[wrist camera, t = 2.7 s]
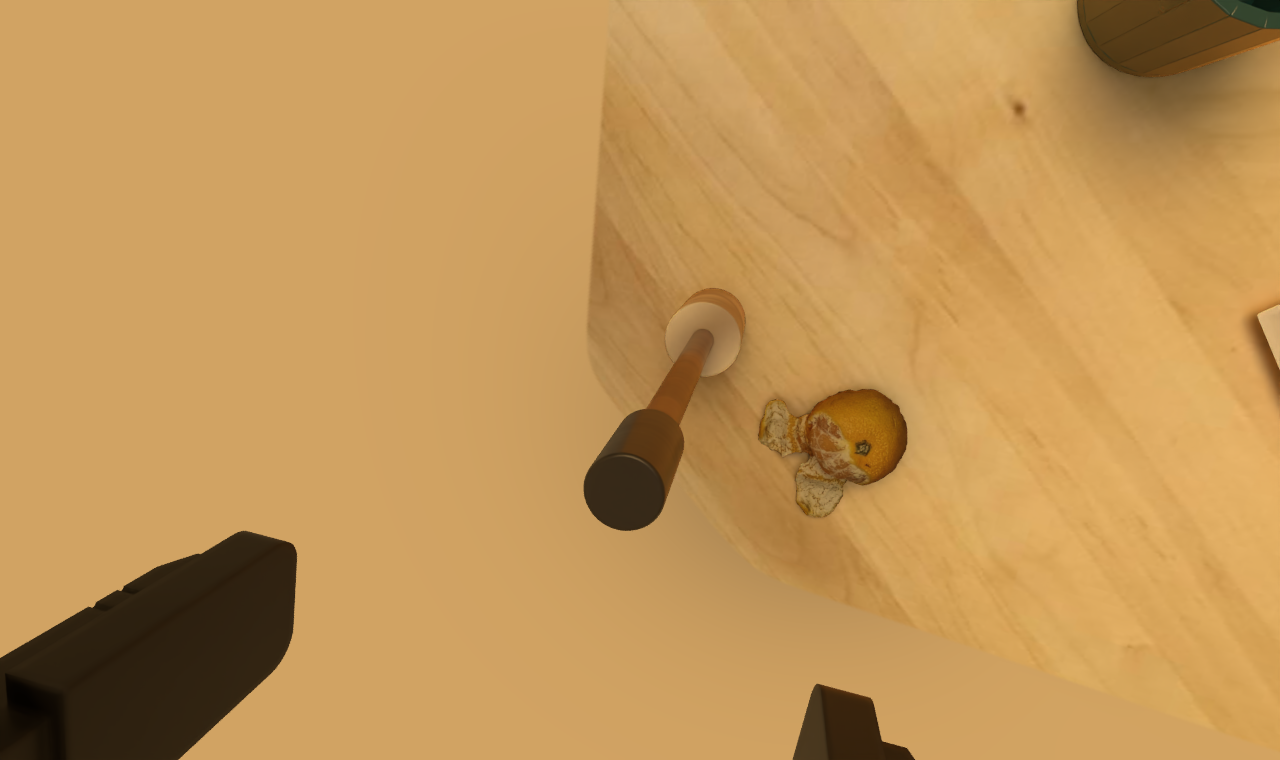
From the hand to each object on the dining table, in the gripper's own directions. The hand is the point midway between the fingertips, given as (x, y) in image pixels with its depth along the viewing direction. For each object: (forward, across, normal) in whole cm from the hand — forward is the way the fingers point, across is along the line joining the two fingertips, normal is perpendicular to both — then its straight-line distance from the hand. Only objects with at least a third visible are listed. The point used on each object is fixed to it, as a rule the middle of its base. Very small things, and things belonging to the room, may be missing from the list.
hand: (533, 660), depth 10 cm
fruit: (+35, -8, +6) cm, 36 cm away
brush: (+34, 0, 0) cm, 35 cm away
